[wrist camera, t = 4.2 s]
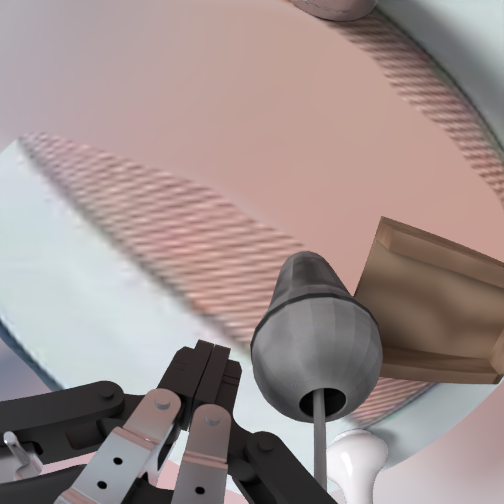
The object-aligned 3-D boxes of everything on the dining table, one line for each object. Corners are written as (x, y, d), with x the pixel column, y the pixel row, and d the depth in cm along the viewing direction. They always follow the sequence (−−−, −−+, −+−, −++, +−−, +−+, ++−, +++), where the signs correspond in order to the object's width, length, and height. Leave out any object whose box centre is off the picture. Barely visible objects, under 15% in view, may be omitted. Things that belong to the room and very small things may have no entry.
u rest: (381, 216, 23) (397, 225, 20) (530, 275, 22) (549, 287, 19) (331, 348, 28) (335, 373, 24) (483, 369, 27) (496, 386, 23)
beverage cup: (352, 241, 24) (474, 420, 5) (336, 315, 26) (381, 516, 7) (270, 230, 25) (221, 423, 6) (260, 306, 27) (218, 514, 8)
